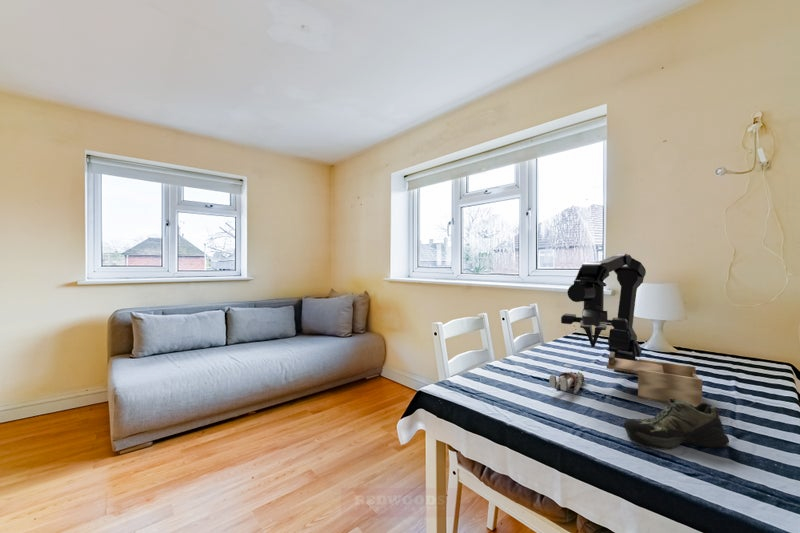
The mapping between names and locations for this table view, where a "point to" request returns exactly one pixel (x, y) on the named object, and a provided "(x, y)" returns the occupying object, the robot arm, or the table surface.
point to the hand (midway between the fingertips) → (593, 346)
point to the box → (670, 383)
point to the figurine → (567, 381)
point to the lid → (631, 365)
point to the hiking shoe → (679, 427)
